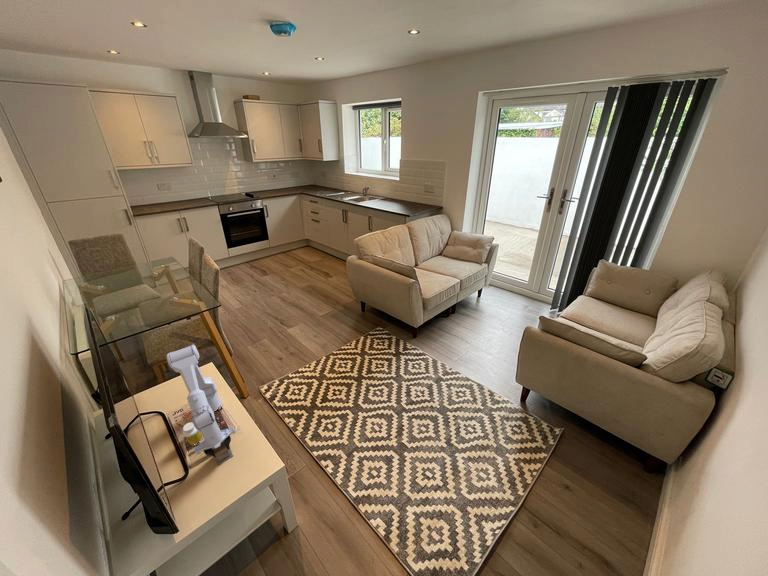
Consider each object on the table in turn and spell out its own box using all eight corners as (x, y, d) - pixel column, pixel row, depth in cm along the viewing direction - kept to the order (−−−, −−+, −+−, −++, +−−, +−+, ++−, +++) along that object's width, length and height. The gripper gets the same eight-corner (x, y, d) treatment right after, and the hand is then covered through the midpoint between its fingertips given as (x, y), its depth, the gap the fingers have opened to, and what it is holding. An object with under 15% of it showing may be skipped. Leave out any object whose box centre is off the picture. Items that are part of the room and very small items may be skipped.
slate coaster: (214, 453, 127) (213, 453, 127) (229, 445, 130) (228, 444, 130) (217, 465, 123) (217, 464, 123) (233, 456, 126) (232, 455, 126)
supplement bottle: (198, 446, 130) (190, 433, 124) (186, 445, 130) (177, 431, 125) (205, 434, 134) (198, 421, 129) (194, 433, 135) (186, 420, 129)
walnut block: (216, 453, 126) (211, 446, 123) (227, 446, 129) (223, 439, 126) (218, 461, 123) (214, 454, 120) (230, 455, 126) (226, 447, 123)
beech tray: (182, 439, 132) (181, 437, 131) (215, 422, 139) (214, 420, 138) (189, 468, 122) (188, 466, 121) (224, 447, 129) (223, 445, 128)
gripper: (192, 452, 111) (204, 470, 119) (233, 428, 119) (242, 448, 126) (188, 437, 116) (200, 456, 123) (228, 416, 123) (237, 435, 131)
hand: (221, 451), depth 125 cm, fingers closed on walnut block, 4 cm apart
